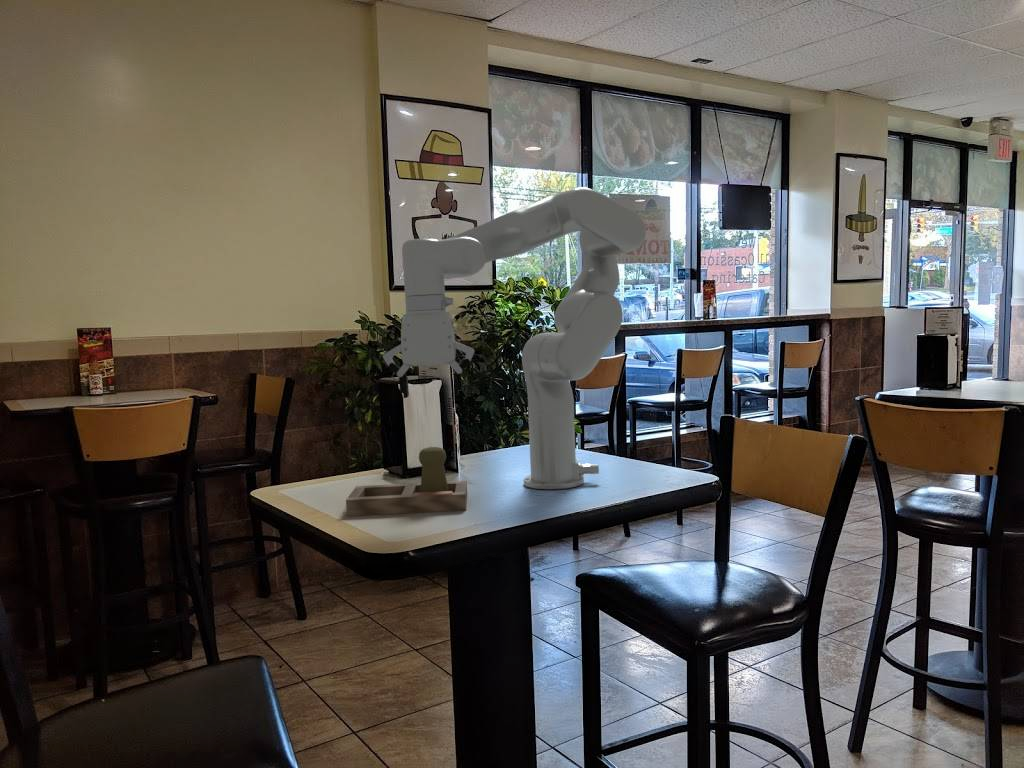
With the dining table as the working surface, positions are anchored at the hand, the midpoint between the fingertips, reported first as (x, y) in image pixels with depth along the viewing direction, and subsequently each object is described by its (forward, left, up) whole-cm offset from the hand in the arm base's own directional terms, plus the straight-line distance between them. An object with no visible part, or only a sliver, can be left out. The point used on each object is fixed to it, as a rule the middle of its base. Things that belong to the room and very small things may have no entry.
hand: (431, 395), depth 152 cm
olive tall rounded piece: (0, 0, -21) cm, 21 cm away
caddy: (+5, 0, -21) cm, 22 cm away
